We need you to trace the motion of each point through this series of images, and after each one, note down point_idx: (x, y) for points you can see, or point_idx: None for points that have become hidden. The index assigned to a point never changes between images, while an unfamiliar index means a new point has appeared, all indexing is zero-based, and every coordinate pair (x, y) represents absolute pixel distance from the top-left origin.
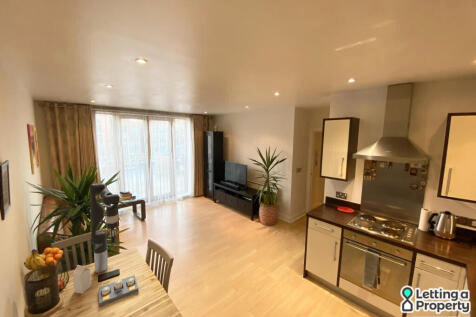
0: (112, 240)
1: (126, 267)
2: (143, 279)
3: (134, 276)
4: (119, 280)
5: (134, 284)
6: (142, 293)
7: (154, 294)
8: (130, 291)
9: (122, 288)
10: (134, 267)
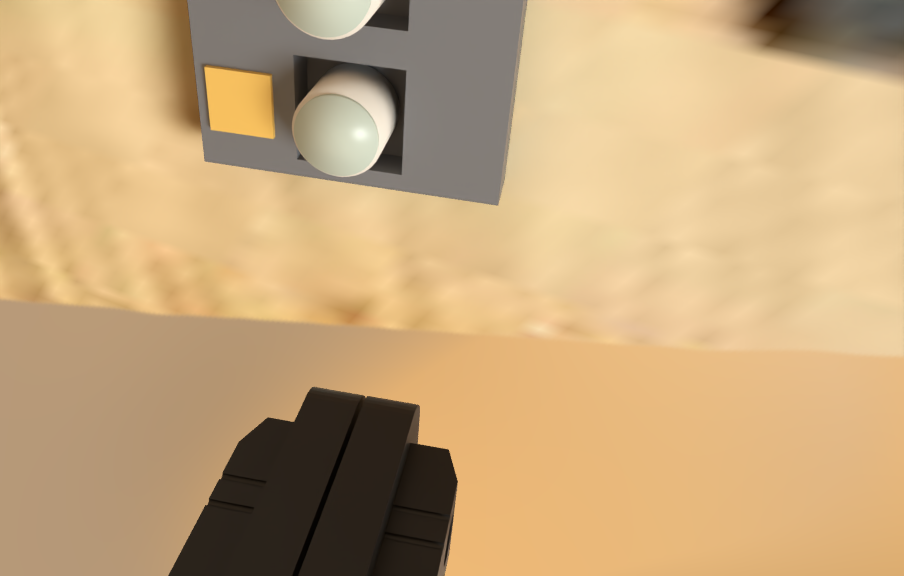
0: (191, 546)
1: (856, 164)
2: (412, 245)
3: (465, 192)
4: (351, 8)
5: None
6: (178, 163)
7: (108, 245)
8: (196, 71)
9: None
10: (753, 245)
